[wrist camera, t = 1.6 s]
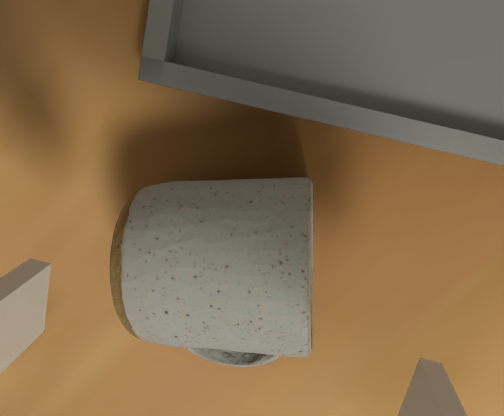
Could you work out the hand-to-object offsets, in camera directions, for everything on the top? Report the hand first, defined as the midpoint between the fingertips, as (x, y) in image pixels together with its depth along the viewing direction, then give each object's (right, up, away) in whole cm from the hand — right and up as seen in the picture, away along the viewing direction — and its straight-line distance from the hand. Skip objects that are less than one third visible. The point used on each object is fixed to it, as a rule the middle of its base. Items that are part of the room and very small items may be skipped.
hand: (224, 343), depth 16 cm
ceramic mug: (0, +2, +9) cm, 9 cm away
